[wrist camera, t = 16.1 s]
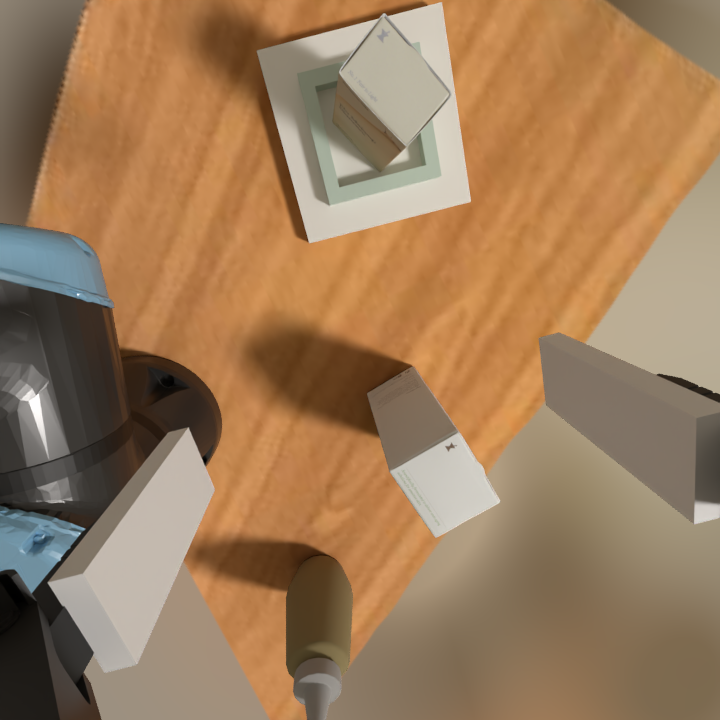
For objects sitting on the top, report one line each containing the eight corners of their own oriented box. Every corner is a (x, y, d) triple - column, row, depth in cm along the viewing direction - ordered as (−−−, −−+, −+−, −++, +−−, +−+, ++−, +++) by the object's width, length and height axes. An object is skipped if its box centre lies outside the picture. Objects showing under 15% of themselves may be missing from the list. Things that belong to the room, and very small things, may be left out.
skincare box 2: (365, 391, 46) (382, 468, 31) (416, 361, 45) (459, 425, 30) (401, 447, 48) (433, 543, 33) (450, 419, 47) (504, 504, 33)
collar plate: (309, 242, 40) (308, 243, 37) (259, 57, 35) (253, 42, 33) (465, 202, 40) (476, 200, 37) (437, 11, 35) (446, -8, 32)
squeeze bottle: (320, 536, 51) (316, 689, 34) (364, 571, 53) (380, 731, 36) (275, 573, 52) (250, 739, 35) (320, 606, 54) (315, 777, 37)
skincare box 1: (330, 122, 36) (331, 70, 24) (364, 80, 35) (382, 6, 24) (382, 175, 38) (405, 150, 26) (415, 136, 37) (455, 92, 25)
